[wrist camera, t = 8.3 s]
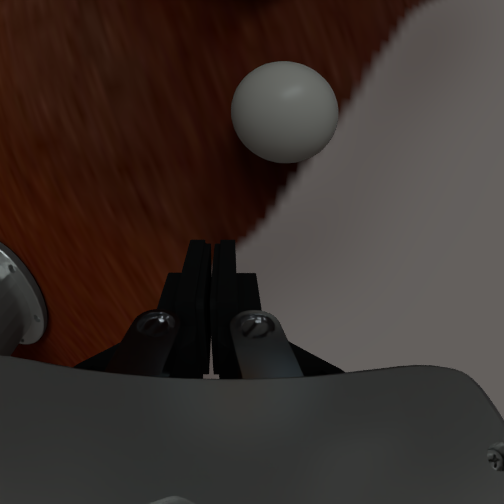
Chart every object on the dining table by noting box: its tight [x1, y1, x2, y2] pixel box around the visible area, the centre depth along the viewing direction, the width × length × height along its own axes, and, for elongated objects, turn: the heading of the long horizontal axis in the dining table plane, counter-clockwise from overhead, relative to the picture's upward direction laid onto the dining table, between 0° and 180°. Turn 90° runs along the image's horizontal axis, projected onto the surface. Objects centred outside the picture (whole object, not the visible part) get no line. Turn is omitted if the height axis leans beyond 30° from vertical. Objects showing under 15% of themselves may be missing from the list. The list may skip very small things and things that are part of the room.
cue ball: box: [231, 61, 338, 163], centre depth 14 cm, size 6×6×6 cm
